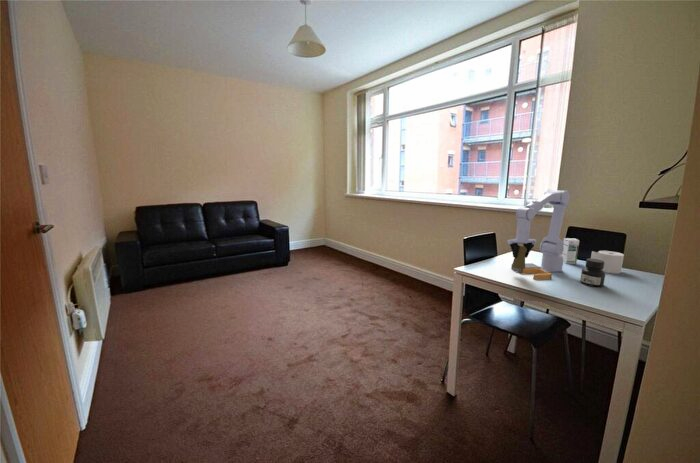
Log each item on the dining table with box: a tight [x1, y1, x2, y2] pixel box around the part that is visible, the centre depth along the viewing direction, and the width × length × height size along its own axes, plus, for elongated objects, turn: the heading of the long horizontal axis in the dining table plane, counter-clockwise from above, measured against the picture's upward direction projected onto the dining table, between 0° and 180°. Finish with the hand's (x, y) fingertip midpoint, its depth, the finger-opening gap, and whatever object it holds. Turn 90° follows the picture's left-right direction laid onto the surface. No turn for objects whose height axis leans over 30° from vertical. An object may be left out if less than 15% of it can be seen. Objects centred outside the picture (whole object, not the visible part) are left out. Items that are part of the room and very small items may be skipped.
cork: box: [511, 245, 527, 269], centre depth 152 cm, size 6×6×11 cm
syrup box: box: [561, 237, 580, 265], centre depth 177 cm, size 6×6×14 cm
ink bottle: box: [579, 257, 606, 288], centre depth 143 cm, size 10×9×12 cm
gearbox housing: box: [510, 262, 553, 280], centre depth 158 cm, size 12×17×4 cm
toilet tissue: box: [590, 250, 625, 274], centre depth 163 cm, size 11×12×10 cm
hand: (520, 257), depth 153 cm, fingers closed on cork, 5 cm apart
